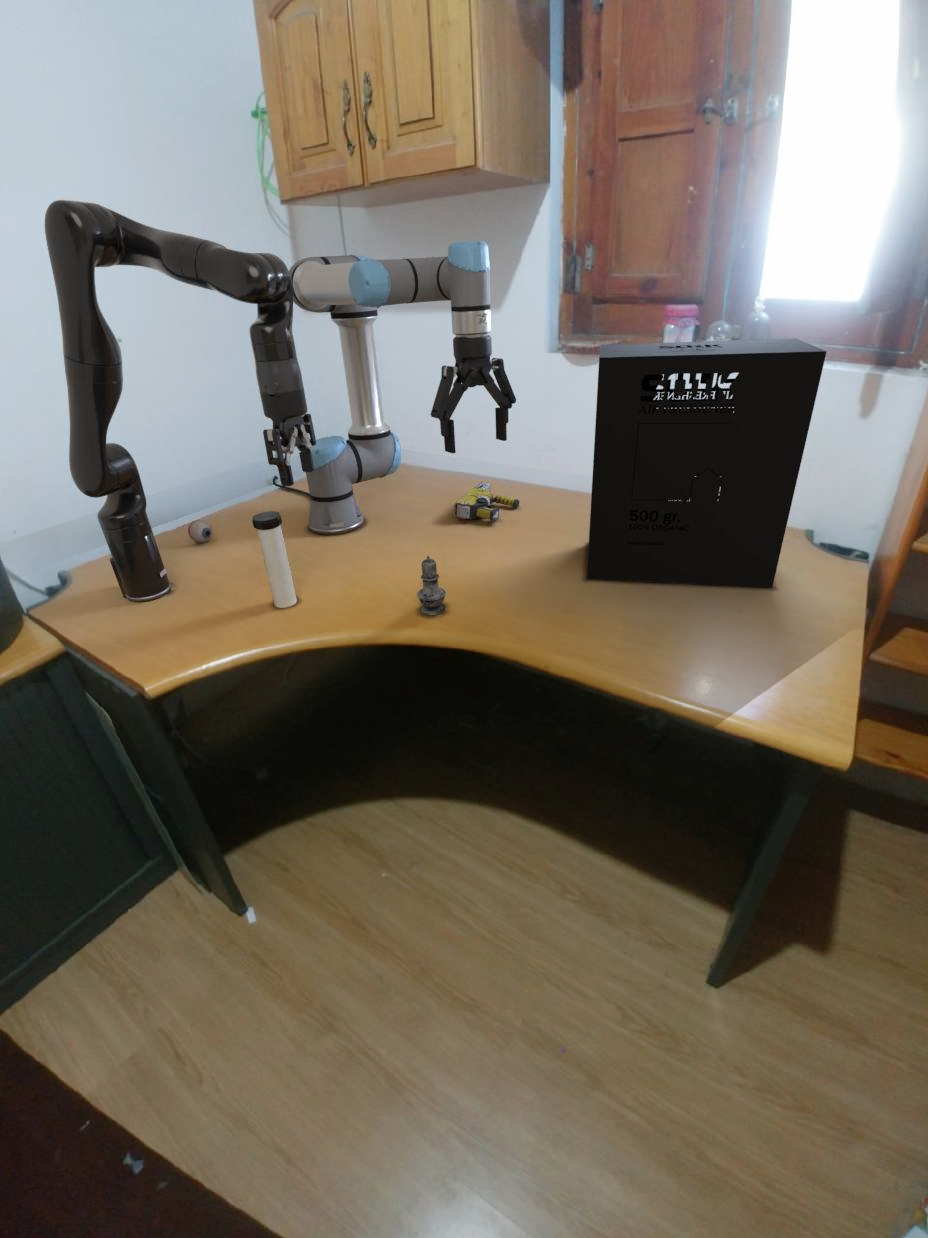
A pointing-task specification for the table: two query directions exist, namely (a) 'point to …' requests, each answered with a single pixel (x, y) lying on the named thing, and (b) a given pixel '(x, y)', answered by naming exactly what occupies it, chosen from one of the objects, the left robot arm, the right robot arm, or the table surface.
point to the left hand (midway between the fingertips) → (298, 478)
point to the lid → (267, 520)
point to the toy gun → (481, 504)
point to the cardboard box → (698, 459)
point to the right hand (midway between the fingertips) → (476, 445)
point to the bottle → (277, 566)
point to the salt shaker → (431, 589)
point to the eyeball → (200, 531)
